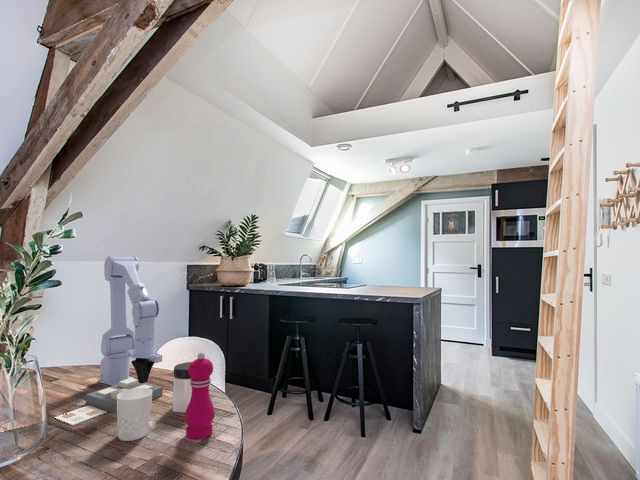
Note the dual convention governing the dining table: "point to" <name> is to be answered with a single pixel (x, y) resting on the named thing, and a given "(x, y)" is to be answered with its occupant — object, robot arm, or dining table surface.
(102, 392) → the button
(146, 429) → the white cup
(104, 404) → the button board
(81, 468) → the dining table surface
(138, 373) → the robot arm
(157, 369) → the dining table surface
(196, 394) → the pepper mill
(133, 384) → the button
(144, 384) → the button
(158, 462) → the dining table surface
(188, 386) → the jar
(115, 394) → the button
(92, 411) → the card
